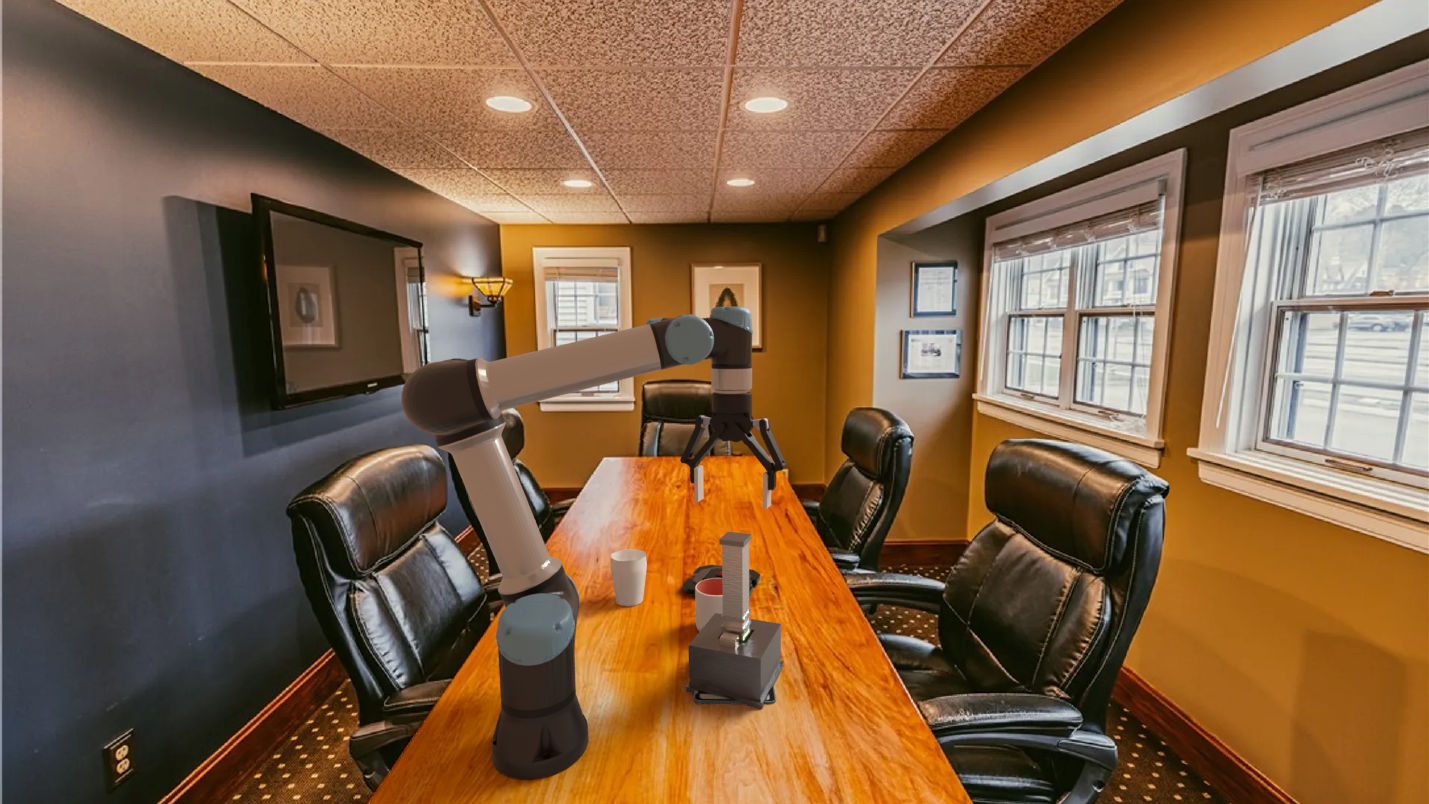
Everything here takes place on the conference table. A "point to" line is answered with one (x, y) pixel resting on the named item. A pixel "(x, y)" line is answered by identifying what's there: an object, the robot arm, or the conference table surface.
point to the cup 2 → (708, 600)
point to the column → (736, 584)
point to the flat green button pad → (714, 572)
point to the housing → (736, 662)
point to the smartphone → (713, 699)
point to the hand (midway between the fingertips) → (732, 503)
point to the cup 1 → (628, 576)
